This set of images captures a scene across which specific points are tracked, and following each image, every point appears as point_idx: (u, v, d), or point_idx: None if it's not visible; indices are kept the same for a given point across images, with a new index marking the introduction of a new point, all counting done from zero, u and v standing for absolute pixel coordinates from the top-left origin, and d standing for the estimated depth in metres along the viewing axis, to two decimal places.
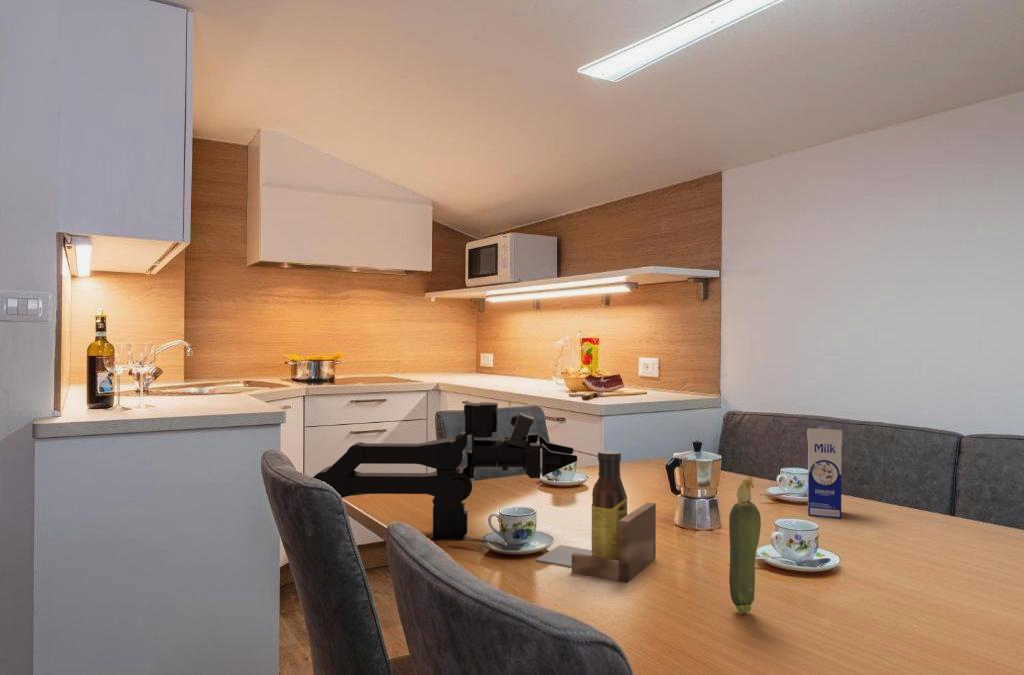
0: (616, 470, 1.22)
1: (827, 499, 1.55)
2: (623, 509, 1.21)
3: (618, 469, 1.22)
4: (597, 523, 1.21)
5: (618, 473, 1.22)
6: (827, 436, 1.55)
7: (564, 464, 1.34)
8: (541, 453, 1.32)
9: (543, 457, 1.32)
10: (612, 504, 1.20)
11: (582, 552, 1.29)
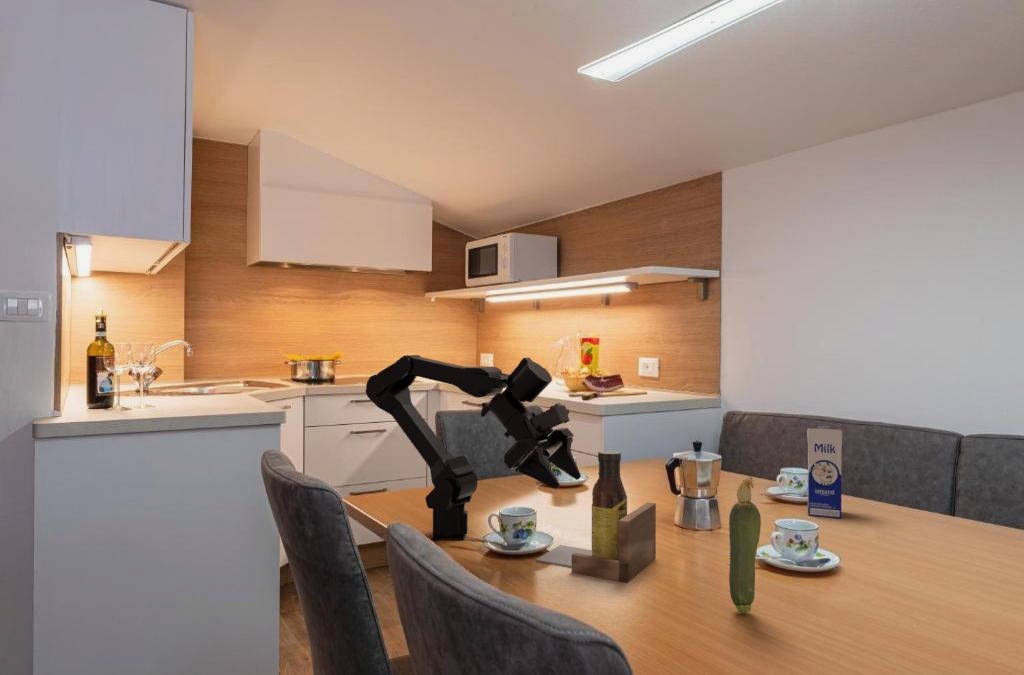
0: (616, 470, 1.22)
1: (827, 499, 1.55)
2: (623, 509, 1.21)
3: (618, 469, 1.22)
4: (597, 523, 1.21)
5: (618, 473, 1.22)
6: (827, 436, 1.55)
7: (542, 480, 1.23)
8: (529, 454, 1.22)
9: (527, 458, 1.22)
10: (612, 504, 1.20)
11: (582, 552, 1.29)
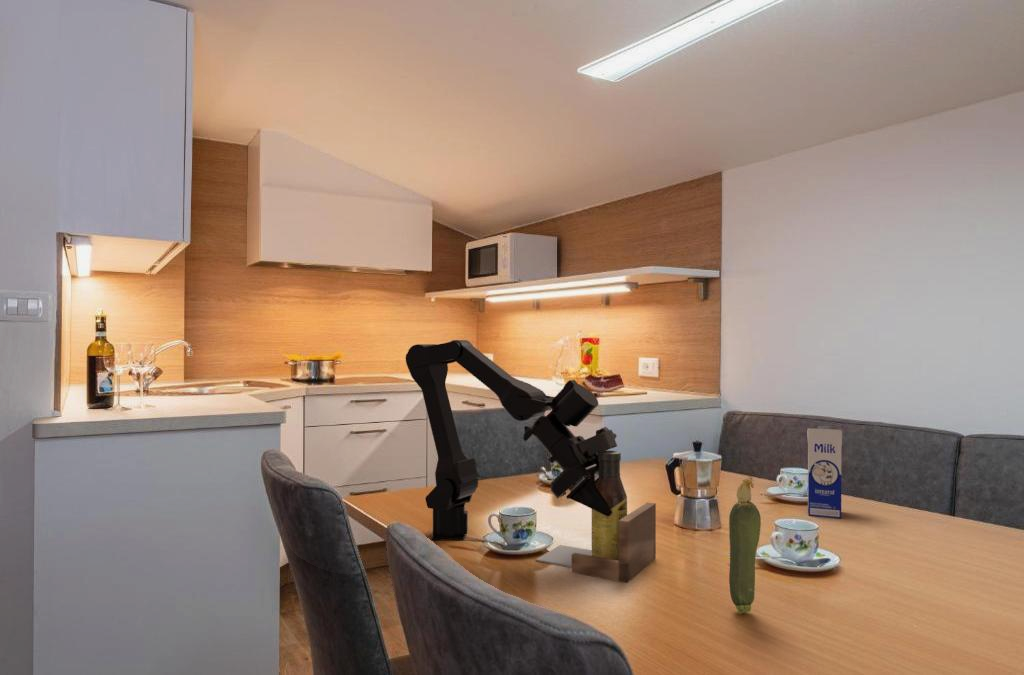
0: (616, 470, 1.22)
1: (827, 499, 1.55)
2: (623, 509, 1.21)
3: (618, 469, 1.22)
4: (597, 523, 1.21)
5: (618, 473, 1.22)
6: (827, 436, 1.55)
7: (594, 508, 1.20)
8: (581, 480, 1.19)
9: (579, 485, 1.19)
10: (612, 504, 1.20)
11: (582, 552, 1.29)
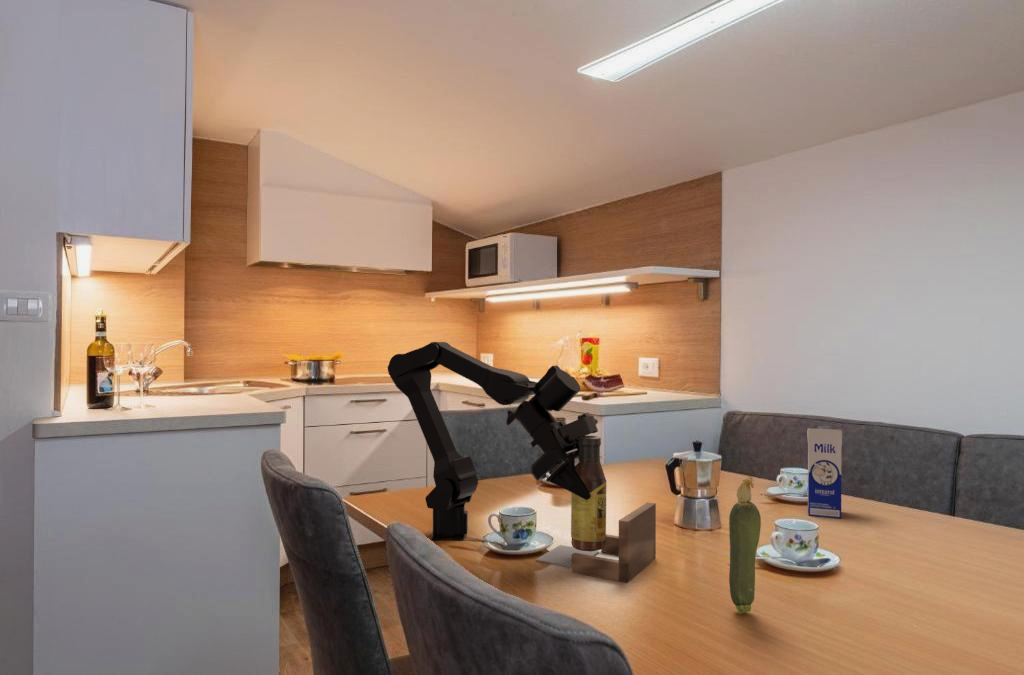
0: (596, 455, 1.24)
1: (827, 499, 1.55)
2: (602, 493, 1.23)
3: (598, 454, 1.24)
4: (576, 507, 1.23)
5: (598, 458, 1.24)
6: (827, 436, 1.55)
7: (573, 491, 1.22)
8: (561, 464, 1.20)
9: (559, 468, 1.20)
10: (591, 487, 1.22)
11: (582, 552, 1.29)
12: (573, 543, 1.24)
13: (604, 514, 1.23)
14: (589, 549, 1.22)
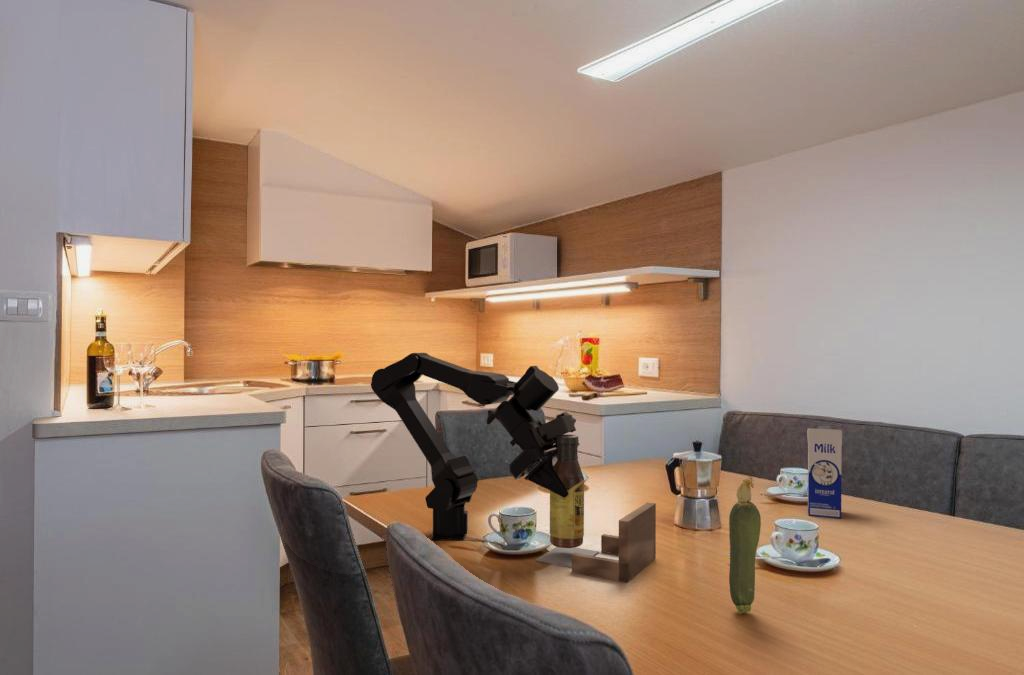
0: (573, 453, 1.26)
1: (827, 499, 1.55)
2: (580, 491, 1.25)
3: (575, 452, 1.26)
4: (554, 504, 1.25)
5: (575, 456, 1.26)
6: (827, 436, 1.55)
7: (551, 489, 1.24)
8: (538, 462, 1.23)
9: (537, 467, 1.23)
10: (569, 485, 1.24)
11: (582, 552, 1.29)
12: (551, 540, 1.26)
13: (582, 511, 1.25)
14: (567, 546, 1.24)
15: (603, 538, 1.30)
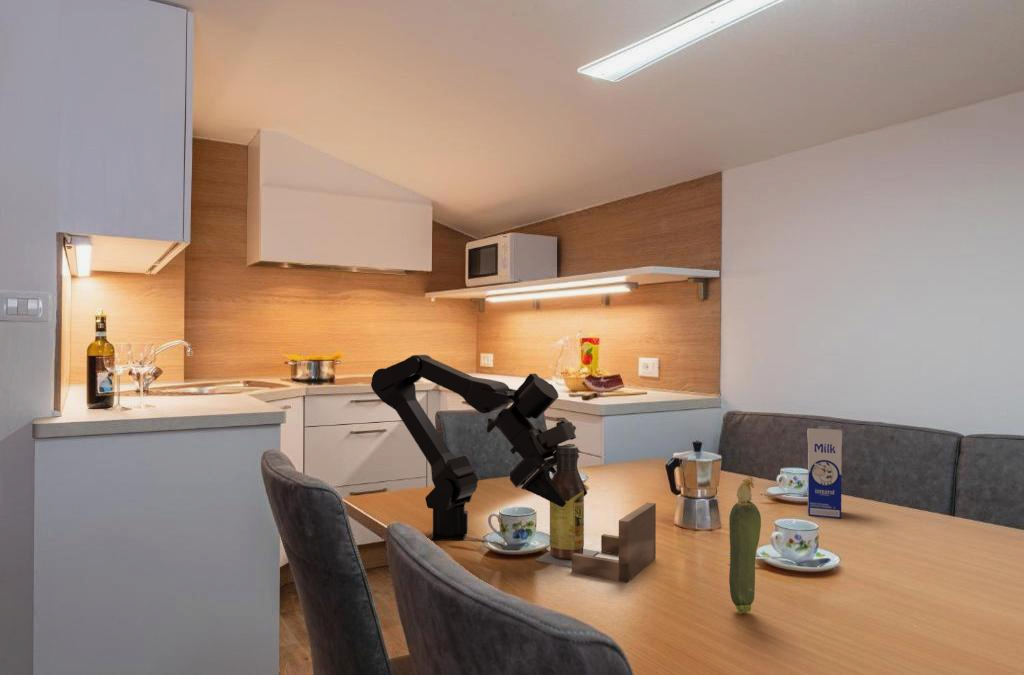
0: (573, 464, 1.26)
1: (827, 499, 1.55)
2: (580, 501, 1.25)
3: (575, 463, 1.26)
4: (554, 515, 1.25)
5: (575, 467, 1.26)
6: (827, 436, 1.55)
7: (549, 498, 1.23)
8: (535, 472, 1.21)
9: (534, 476, 1.21)
10: (568, 496, 1.24)
11: None
12: (552, 551, 1.26)
13: (582, 522, 1.25)
14: (567, 557, 1.24)
15: (603, 538, 1.30)
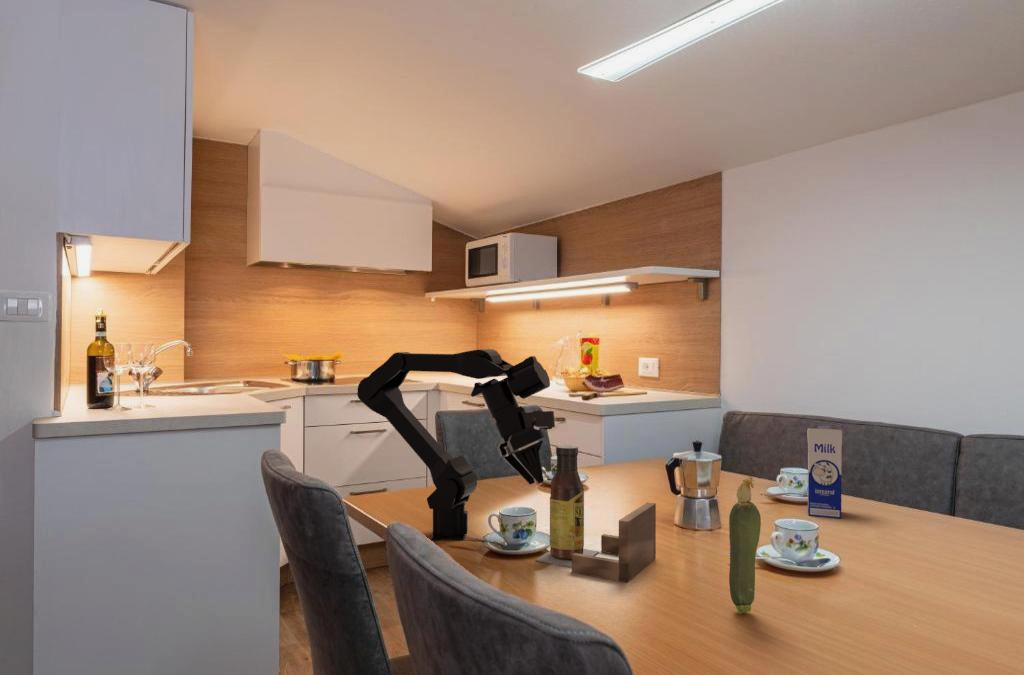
0: (573, 464, 1.26)
1: (827, 499, 1.55)
2: (580, 502, 1.25)
3: (575, 463, 1.26)
4: (554, 515, 1.25)
5: (575, 467, 1.26)
6: (827, 436, 1.55)
7: (531, 471, 1.28)
8: (536, 442, 1.27)
9: (533, 445, 1.27)
10: (569, 496, 1.24)
11: None
12: (552, 551, 1.26)
13: (582, 522, 1.25)
14: (567, 557, 1.24)
15: (603, 538, 1.30)
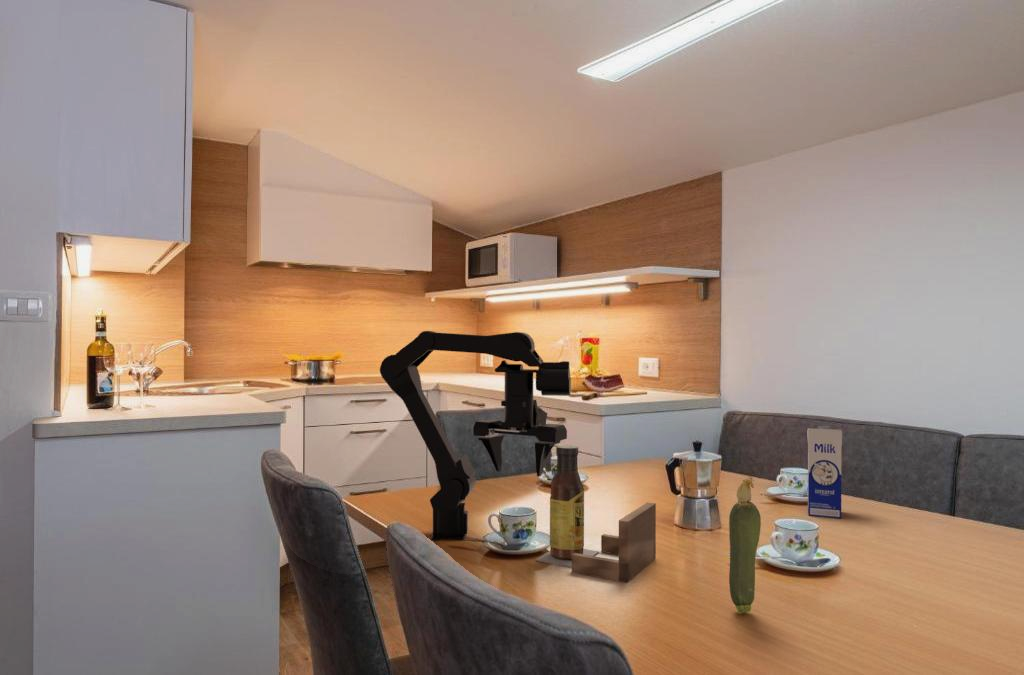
0: (573, 464, 1.26)
1: (827, 499, 1.55)
2: (580, 502, 1.25)
3: (575, 463, 1.26)
4: (555, 515, 1.25)
5: (575, 467, 1.26)
6: (827, 436, 1.55)
7: (541, 464, 1.34)
8: None
9: (556, 442, 1.35)
10: (569, 496, 1.24)
11: None
12: (552, 551, 1.26)
13: (582, 522, 1.25)
14: (567, 557, 1.24)
15: (603, 538, 1.30)
